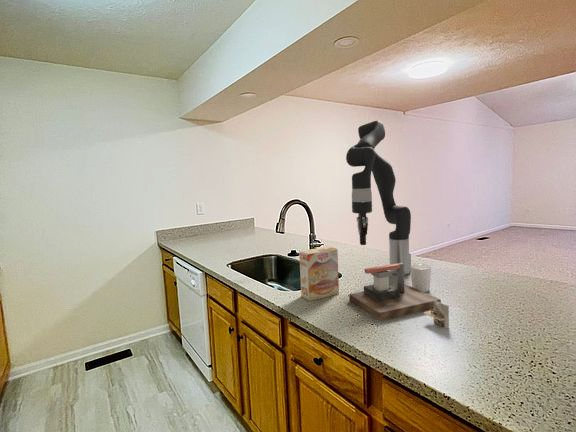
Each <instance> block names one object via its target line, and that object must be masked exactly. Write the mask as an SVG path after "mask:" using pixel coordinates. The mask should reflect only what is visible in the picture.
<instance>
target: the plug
mask: <svg viewBox="0 0 576 432" xmlns="http://www.w3.org/2000/svg"><path fill="white" fill-rule="evenodd" d="M370 275H371V276H373V285H374V289H376V290H378V291H384V290H389V285H390V279H389V278H390V277H392V273H391V272H390V270H387V271H381V272H375V273H370Z"/></svg>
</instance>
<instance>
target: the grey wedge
mask: <svg viewBox="0 0 576 432" xmlns="http://www.w3.org/2000/svg"><path fill="white" fill-rule="evenodd" d="M433 305H434V309H432V308H431V310H427V311H423V314H424V315H426V316H429V317H431V318H433V322H435V323H437V324H438V326H439V327H444V329H445V330H446V329H449V328H450V314H449V312H450V309H449V308H450V307H449V306H450V305H448V304H444V303H442V302H441V303H440V302H437V301H434V304H433ZM448 327H449V328H448Z"/></svg>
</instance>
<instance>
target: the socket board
mask: <svg viewBox="0 0 576 432" xmlns="http://www.w3.org/2000/svg"><path fill="white" fill-rule="evenodd" d="M348 296H349V300H348V301H349V303H351V304H353V305H354V306H355V307H357V308H359V309H360V310H362V311H363V312H365V313H366V314H367V315H370V316H371V317H372V318H374V319H375V320H377V321H378V322H384V321H387V320H391V319H396V318H401V317H406V316H411V315H414V314H418V313H422V312H423V313H424V312H427V311H430V310H431V308H432V310H434V305H433V304H434V301H437V302H440V303H442V301H441V299H440V298H438V297H436V296H434V295H431V294H430V293H427V292H422V291H420V290H417V289H415V288H412V286H410V285H407V284H405V283H404V292H400V290H399V289H397V284H396V285H391V284H389V290H384V291H378V290H376V289H374V284H368V285H364V286H363V291H360V292H359V291H358V292H354V293H350V294H349V295H348Z"/></svg>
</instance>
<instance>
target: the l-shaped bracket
mask: <svg viewBox="0 0 576 432" xmlns="http://www.w3.org/2000/svg"><path fill="white" fill-rule="evenodd" d="M393 269H397V275H396V277H397V278H396V279H397V282H396V283H397V284H396V285H397V289H399V290H400V292H404V284H405V275H404V263H397V264H391V265H390V264H386V265H380V266H373V267H368V268H364V273H365V274H369V275H370V274H371V273H375V272H381V271H390V270H393Z"/></svg>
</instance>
